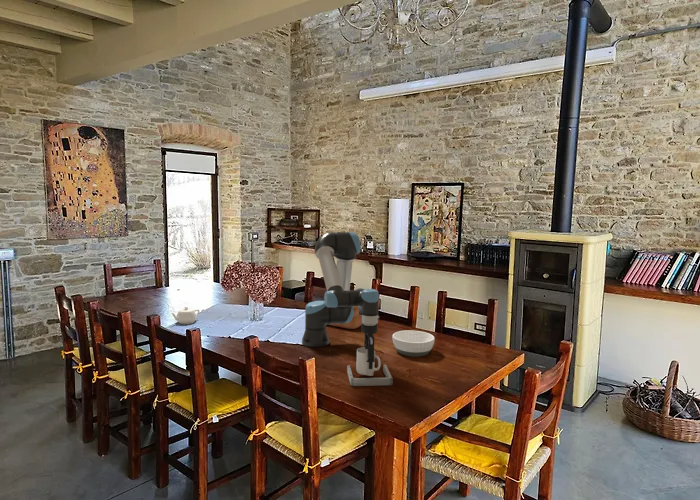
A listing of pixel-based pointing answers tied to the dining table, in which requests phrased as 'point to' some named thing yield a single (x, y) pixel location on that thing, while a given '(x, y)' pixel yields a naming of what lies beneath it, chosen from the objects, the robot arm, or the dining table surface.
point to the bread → (353, 323)
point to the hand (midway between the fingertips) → (368, 371)
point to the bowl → (413, 343)
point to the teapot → (186, 316)
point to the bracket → (370, 379)
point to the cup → (361, 361)
